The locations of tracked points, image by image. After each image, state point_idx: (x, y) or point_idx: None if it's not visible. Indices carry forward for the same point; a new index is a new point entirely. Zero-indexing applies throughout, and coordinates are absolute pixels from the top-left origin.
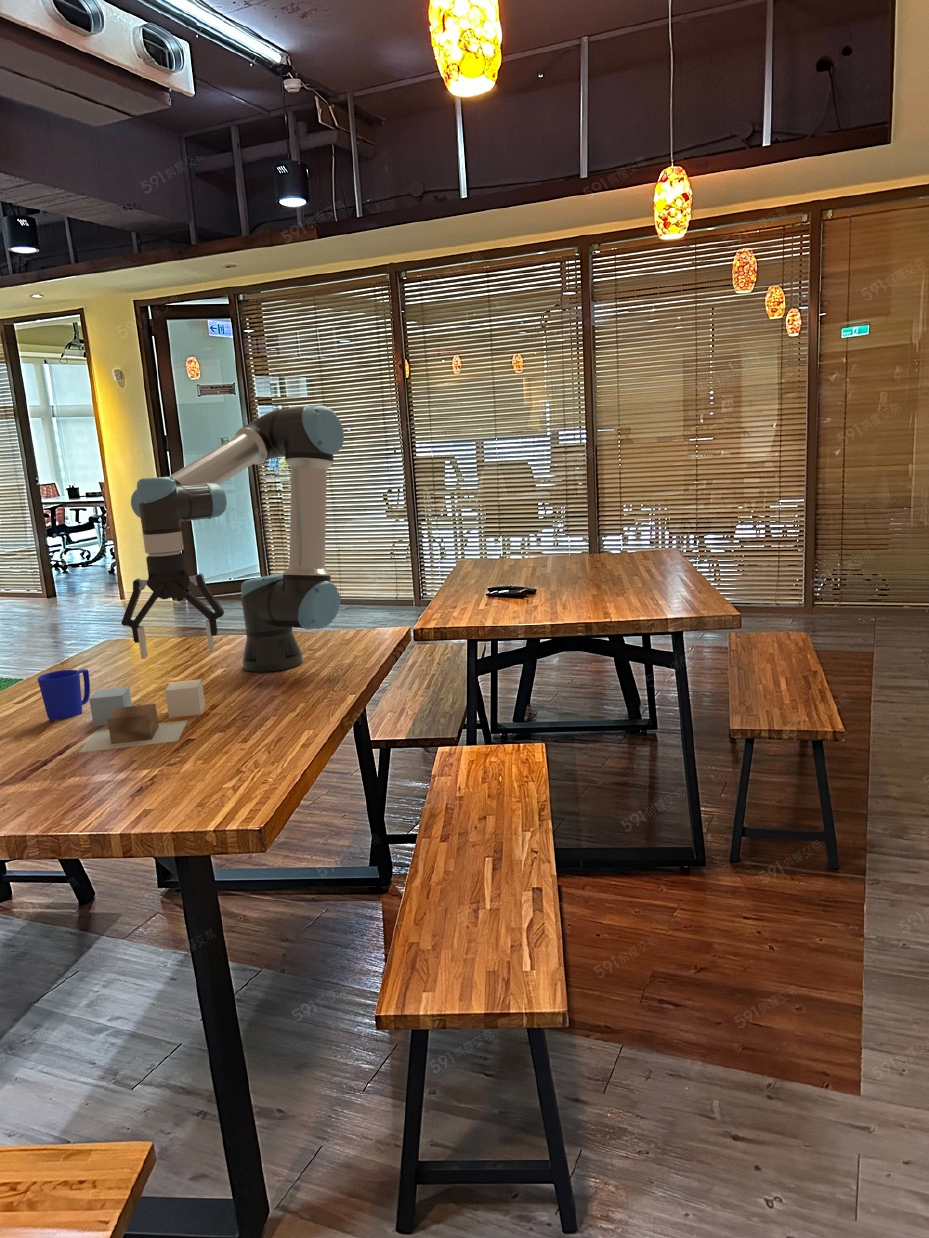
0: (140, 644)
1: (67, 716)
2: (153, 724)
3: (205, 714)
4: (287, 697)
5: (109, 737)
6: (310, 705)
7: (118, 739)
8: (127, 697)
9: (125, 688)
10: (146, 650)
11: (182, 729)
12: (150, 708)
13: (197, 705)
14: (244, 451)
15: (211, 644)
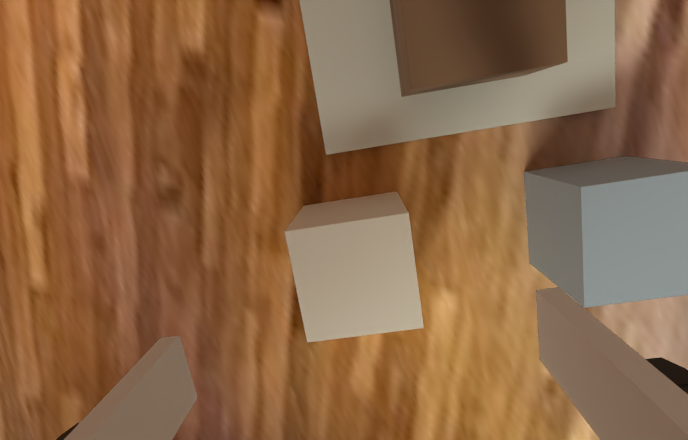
0: (607, 335)
1: None
2: (394, 12)
3: None
4: (107, 350)
5: None
6: (9, 260)
7: None
8: (567, 250)
9: (594, 288)
10: (556, 366)
11: (311, 54)
12: (410, 18)
13: (304, 213)
14: None
15: (138, 364)
